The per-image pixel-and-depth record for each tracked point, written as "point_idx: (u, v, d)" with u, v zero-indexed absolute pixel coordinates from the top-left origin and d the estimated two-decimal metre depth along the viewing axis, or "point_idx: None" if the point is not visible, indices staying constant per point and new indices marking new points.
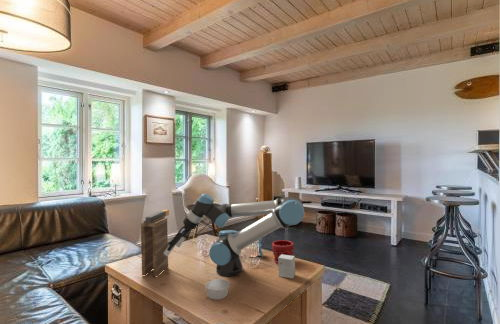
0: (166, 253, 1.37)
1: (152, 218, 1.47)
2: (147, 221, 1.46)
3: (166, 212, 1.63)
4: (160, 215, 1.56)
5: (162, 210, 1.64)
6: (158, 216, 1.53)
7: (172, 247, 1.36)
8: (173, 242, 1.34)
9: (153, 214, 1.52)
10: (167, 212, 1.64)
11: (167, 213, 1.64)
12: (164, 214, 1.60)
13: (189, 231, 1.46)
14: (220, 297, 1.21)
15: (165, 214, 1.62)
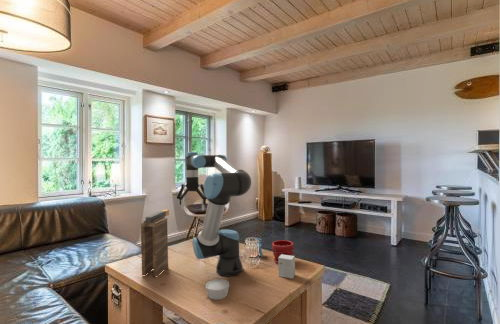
0: None
1: (152, 218, 1.47)
2: (147, 221, 1.46)
3: (166, 212, 1.63)
4: (160, 215, 1.56)
5: (162, 210, 1.64)
6: (158, 216, 1.53)
7: None
8: None
9: (153, 214, 1.52)
10: (167, 212, 1.64)
11: (167, 213, 1.64)
12: (164, 214, 1.60)
13: (196, 189, 1.65)
14: (220, 297, 1.21)
15: (165, 214, 1.62)
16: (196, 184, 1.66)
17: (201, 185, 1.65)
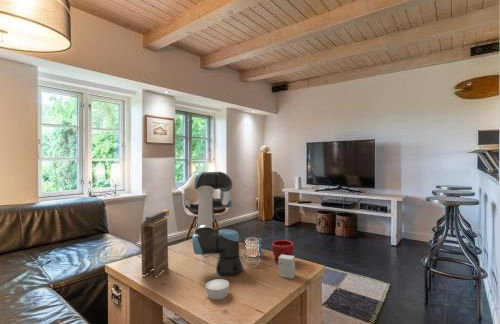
0: None
1: (152, 218, 1.47)
2: (147, 221, 1.46)
3: (166, 212, 1.63)
4: (160, 215, 1.56)
5: (162, 210, 1.64)
6: (158, 216, 1.53)
7: None
8: None
9: (153, 214, 1.52)
10: (167, 212, 1.64)
11: (167, 213, 1.64)
12: (164, 214, 1.60)
13: None
14: (220, 297, 1.21)
15: (165, 214, 1.62)
16: None
17: None
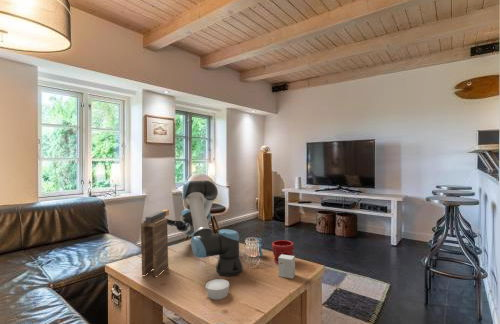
0: None
1: (152, 218, 1.47)
2: (147, 221, 1.46)
3: (166, 212, 1.63)
4: (160, 215, 1.56)
5: (162, 210, 1.64)
6: (158, 216, 1.53)
7: None
8: None
9: (153, 214, 1.52)
10: (167, 212, 1.64)
11: (167, 213, 1.64)
12: (164, 214, 1.60)
13: None
14: (220, 297, 1.21)
15: (165, 214, 1.62)
16: None
17: None
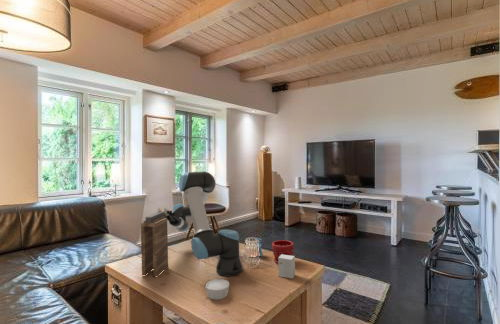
0: None
1: (152, 218, 1.47)
2: (147, 221, 1.46)
3: None
4: (160, 215, 1.56)
5: (162, 210, 1.64)
6: (158, 216, 1.53)
7: None
8: None
9: (153, 214, 1.52)
10: None
11: None
12: (164, 214, 1.60)
13: None
14: (220, 297, 1.21)
15: (165, 214, 1.62)
16: None
17: (181, 216, 1.73)
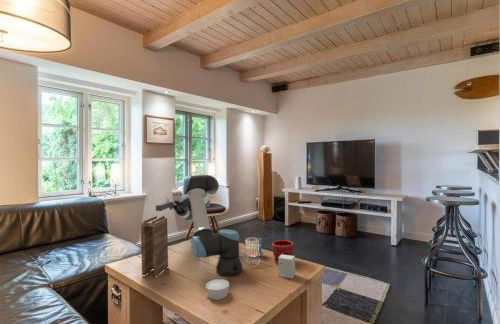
0: None
1: (162, 206, 1.58)
2: (157, 209, 1.57)
3: None
4: (169, 204, 1.67)
5: (170, 200, 1.76)
6: (167, 205, 1.65)
7: None
8: None
9: (162, 203, 1.64)
10: None
11: None
12: (172, 204, 1.72)
13: None
14: (220, 297, 1.21)
15: (173, 204, 1.74)
16: None
17: None
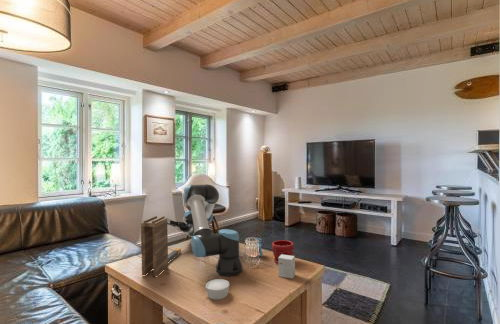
0: None
1: None
2: None
3: (178, 251, 1.79)
4: (173, 255, 1.72)
5: (175, 249, 1.80)
6: (172, 257, 1.70)
7: None
8: None
9: None
10: (179, 251, 1.81)
11: (179, 252, 1.81)
12: (177, 253, 1.77)
13: None
14: (220, 297, 1.21)
15: (178, 253, 1.78)
16: None
17: (191, 223, 1.90)
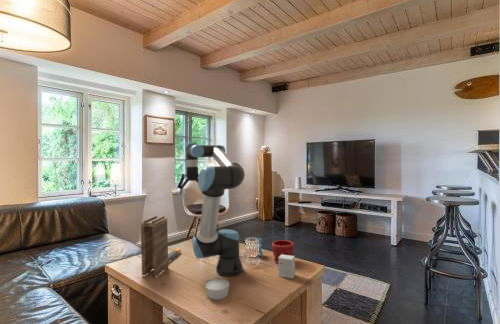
0: None
1: None
2: None
3: (178, 251, 1.79)
4: (173, 255, 1.72)
5: (175, 249, 1.80)
6: (172, 257, 1.70)
7: None
8: None
9: None
10: (179, 251, 1.81)
11: (179, 252, 1.81)
12: (177, 253, 1.77)
13: (196, 179, 1.70)
14: (220, 297, 1.21)
15: (178, 253, 1.78)
16: (196, 174, 1.71)
17: None
